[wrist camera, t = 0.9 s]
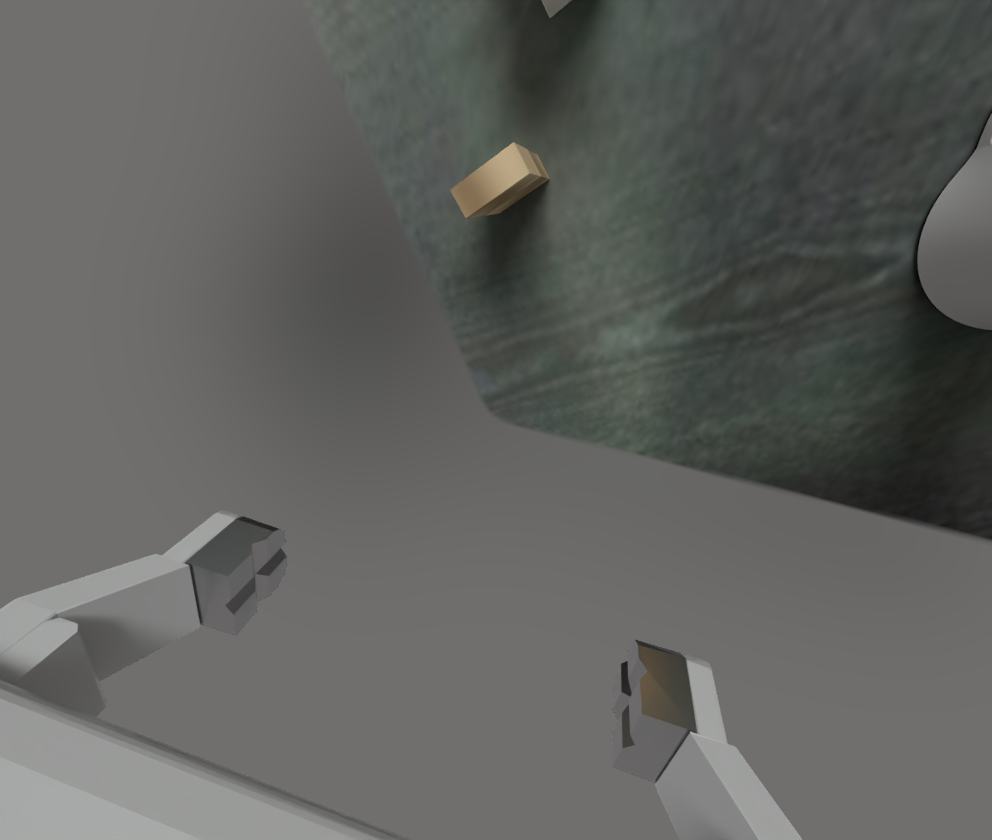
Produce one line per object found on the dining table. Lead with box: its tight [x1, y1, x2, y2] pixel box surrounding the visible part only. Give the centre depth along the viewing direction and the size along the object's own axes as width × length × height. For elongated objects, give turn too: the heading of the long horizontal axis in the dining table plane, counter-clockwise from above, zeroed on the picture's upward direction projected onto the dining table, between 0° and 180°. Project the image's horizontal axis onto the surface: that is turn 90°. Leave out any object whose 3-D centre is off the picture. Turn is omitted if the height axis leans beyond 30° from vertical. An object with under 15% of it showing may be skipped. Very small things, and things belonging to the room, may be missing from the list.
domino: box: [450, 142, 550, 218], centre depth 34 cm, size 5×2×10 cm, turn 122°
